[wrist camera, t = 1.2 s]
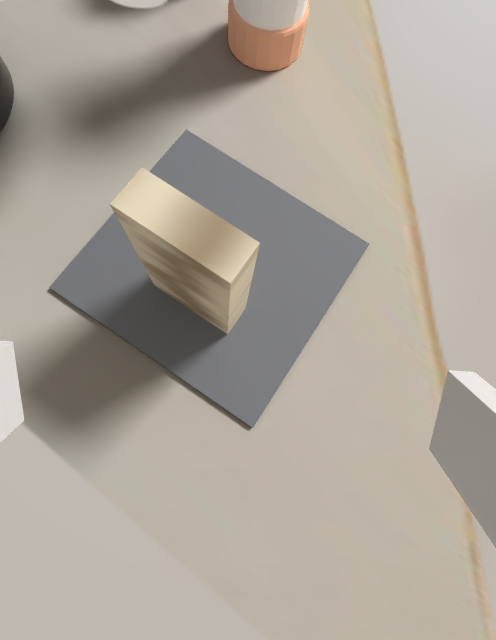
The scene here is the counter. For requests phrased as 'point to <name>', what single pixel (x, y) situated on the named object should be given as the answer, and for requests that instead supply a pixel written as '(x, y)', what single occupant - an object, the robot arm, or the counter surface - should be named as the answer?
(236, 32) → the salt shaker
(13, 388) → the robot arm
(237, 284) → the birch block
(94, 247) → the mat
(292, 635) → the counter surface
